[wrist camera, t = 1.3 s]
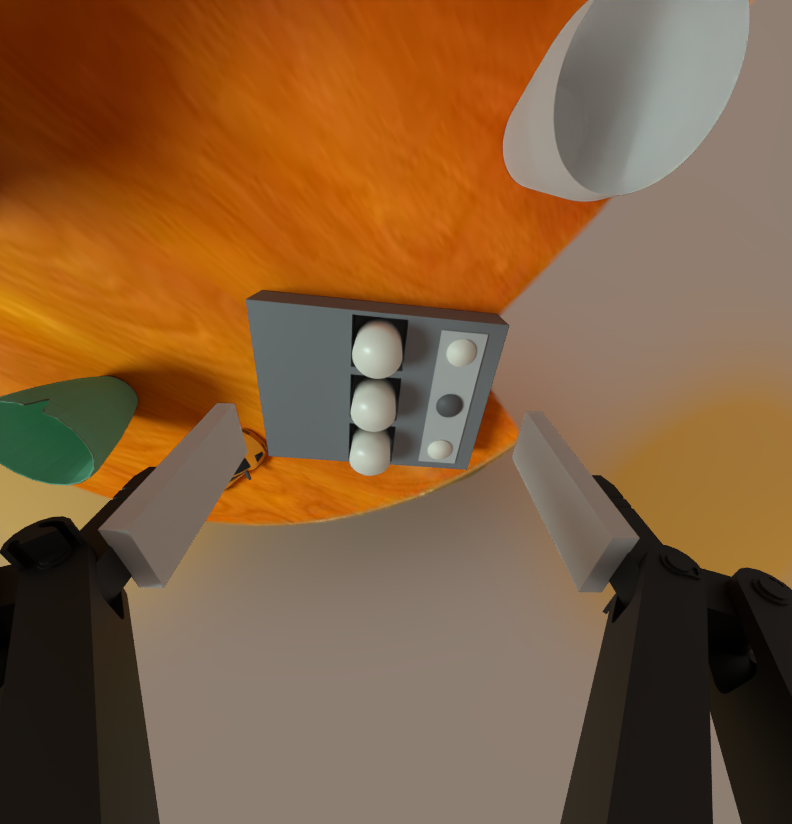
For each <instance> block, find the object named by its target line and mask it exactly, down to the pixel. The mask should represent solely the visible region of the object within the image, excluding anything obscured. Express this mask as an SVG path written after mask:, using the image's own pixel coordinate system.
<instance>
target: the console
mask: <svg viewBox="0 0 792 824" xmlns="http://www.w3.org/2000/svg"><path fill="white" fill-rule="evenodd" d="M246 305H247V311H248V318H249V325H250V332H251V339H252V345H253V352H254V359H255V366H256V372H257V379H258V386H259V393H260V399H261V406H262V413H263V420H264V426H265V433H266V440H267V447H268V454H269V456H277V457H291V458H306V459H320V460H335V461H349V457H350V452H351V446H352V440H353V435H354V432H355V430H356V429H357V428H358V426H357V425H356V424H355V423H354V422H353V420H352V417H351V406H352V402H353V397H354V392H355V388H356V386H357V384H358V383H359V382H360V381H361V380H362V379H363V378H365V377H367V376H365V375H363V374H362V373H361V372H360V371H359V370H358V369H357V368H356V366H355V364H354V362H353V358H352V351H353V347H354V344H355V340H356V337H357V333H358V331H359V329H360V327H361V326H362V325H363V324H364V323H365V322H367V321H369V320H371V319H376V318H381V319H385V320H388V321H390V322H392V323H393V324H394V325H395V326H396V327H397V328H398V330H399V332H400V335H401V343H402V362H401V365H400V367H399V368H398V370H397V371H396V372H395V373H394V374H392V375H391V376H389V377H386V379H387V380H389V381H390V382H391V384H392V385H393V387H394V389H395V406H396V416H395V419H394V421H393V423H392V424H391V425H390V426H389V427H388V428H387V430H388V432H389V434H390V464H393V465H407V466H422V467H437V468H451V469H466V470H467V468H468V465H469V461H470V458H471V454H472V451H473V448H474V444H475V441H476V437H477V434H478V430H479V427H480V424H481V420H482V417H483V413H484V410H485V407H486V403H487V400H488V396H489V393H490V389H491V386H492V383H493V379H494V376H495V372H496V369H497V365H498V362H499V359H500V355H501V352H502V349H503V345H504V342H505V338H506V335H507V331H508V328H509V325H508V324H507V323H506V322H505V321H504V320H503V319H502V318H501V317H500V316H499V315H498V314H492V313H482V312H472V311H462V310H452V309H442V308H432V307H422V306H413V305H403V304H393V303H383V302H373V301H363V300H353V299H343V298H333V297H323V296H313V295H303V294H293V293H284V292H274V291H264V290H261V291H260V292H258V293H256V294H254V295H252V296H251V297H249V298H247V299H246ZM349 462H350V461H349Z"/></svg>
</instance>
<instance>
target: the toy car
mask: <svg viewBox="0 0 792 824" xmlns="http://www.w3.org/2000/svg"><path fill="white" fill-rule="evenodd" d="M241 429H242V433H243V436H244V440H245V444H246V447H247V451H248V452H247V454H246V456H245V457H244V459H243V460H242V462H241V464H240V465H239V467H238V469H237V470H236V472H235V473H234V475H233V477H232V478H231V480H230V482H229V483H228V485H227V486H226V488H225V490H226V489H227V488H228V487H230V486H231V485H232V484H233V483H234V482H235V481H236V480H237V479H239V478H240V477H241V476H243V475H244V474H245V475H246V477H247V478H248V479H249V480H251V477H250V475H249V473H248V471H250V470H253V469H255V468H257V467H258V466H259V465H260V464H261V462H262V461H263V459H264V457H265V455H266V452H267V446H266V444H265V443H264V442H263V441H262V440H261V439H260V438H259V437H258V436H257V435H256V434H254V433H253V432H251V431H250V430H248V429H246V428H241ZM225 490H224V491H225Z"/></svg>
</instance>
